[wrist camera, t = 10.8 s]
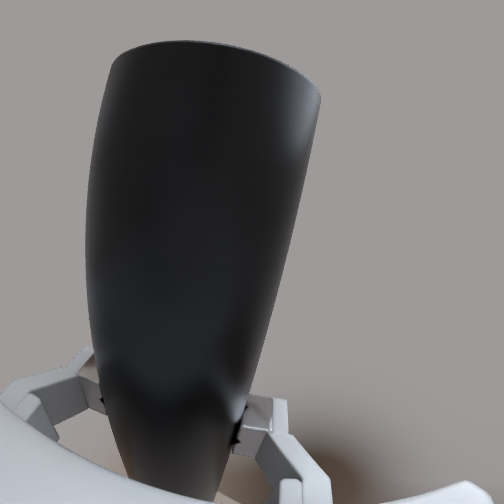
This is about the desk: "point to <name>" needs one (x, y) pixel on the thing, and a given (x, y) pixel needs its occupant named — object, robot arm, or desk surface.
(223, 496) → the desk surface
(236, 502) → the desk surface
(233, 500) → the desk surface
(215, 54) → the cylinder
